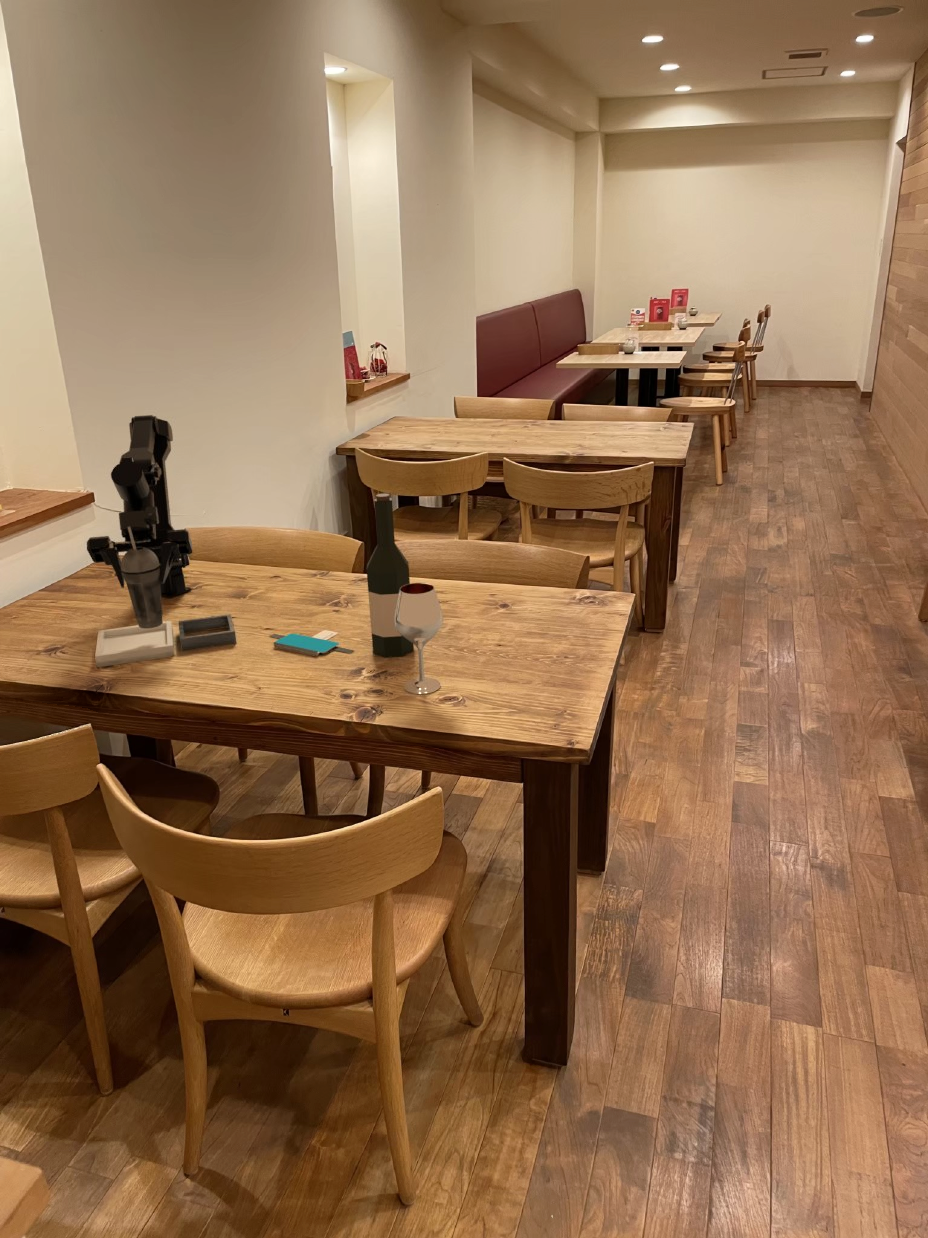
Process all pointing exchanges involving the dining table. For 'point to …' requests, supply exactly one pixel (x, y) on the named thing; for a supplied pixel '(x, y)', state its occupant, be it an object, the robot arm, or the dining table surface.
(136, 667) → the dining table surface
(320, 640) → the teal flat block
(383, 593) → the wine bottle
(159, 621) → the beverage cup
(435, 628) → the wineglass
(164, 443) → the robot arm
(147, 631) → the cream white tray
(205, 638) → the grey-brown square frame
